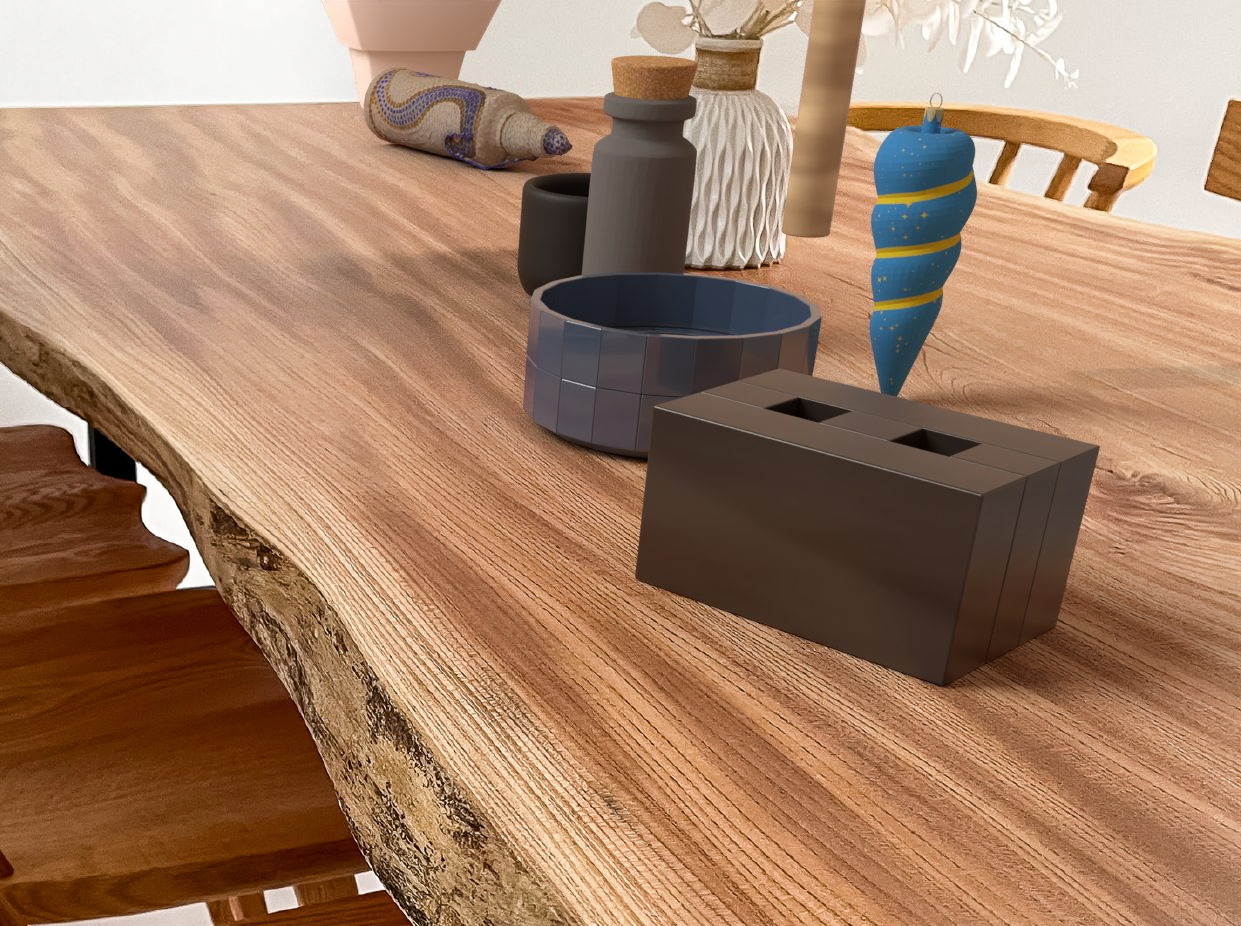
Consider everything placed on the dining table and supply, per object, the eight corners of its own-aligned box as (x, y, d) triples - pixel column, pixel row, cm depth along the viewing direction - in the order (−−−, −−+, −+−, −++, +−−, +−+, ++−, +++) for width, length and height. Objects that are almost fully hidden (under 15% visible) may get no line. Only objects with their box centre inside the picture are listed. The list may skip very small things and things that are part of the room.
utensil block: (755, 532, 75) (779, 368, 71) (1056, 626, 67) (1101, 445, 63) (633, 579, 70) (652, 405, 66) (942, 687, 62) (983, 494, 58)
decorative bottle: (356, 145, 165) (358, 67, 162) (421, 140, 169) (425, 64, 165) (525, 187, 147) (532, 101, 143) (594, 181, 150) (602, 97, 147)
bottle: (695, 339, 104) (729, 61, 96) (635, 356, 100) (665, 69, 92) (617, 320, 107) (643, 51, 99) (556, 336, 103) (579, 58, 96)
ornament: (889, 418, 90) (946, 102, 83) (815, 394, 94) (863, 90, 86) (956, 404, 93) (1017, 96, 85) (881, 381, 96) (933, 84, 89)
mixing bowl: (638, 372, 97) (649, 260, 94) (856, 429, 89) (877, 307, 85) (466, 419, 89) (473, 297, 86) (689, 486, 80) (705, 354, 77)
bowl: (297, 107, 187) (297, -40, 180) (473, 106, 190) (480, -39, 183) (327, 133, 171) (328, -27, 164) (517, 132, 175) (528, -25, 167)
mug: (506, 286, 114) (514, 170, 111) (642, 288, 115) (655, 172, 111) (530, 333, 104) (540, 208, 101) (679, 335, 105) (694, 210, 101)
